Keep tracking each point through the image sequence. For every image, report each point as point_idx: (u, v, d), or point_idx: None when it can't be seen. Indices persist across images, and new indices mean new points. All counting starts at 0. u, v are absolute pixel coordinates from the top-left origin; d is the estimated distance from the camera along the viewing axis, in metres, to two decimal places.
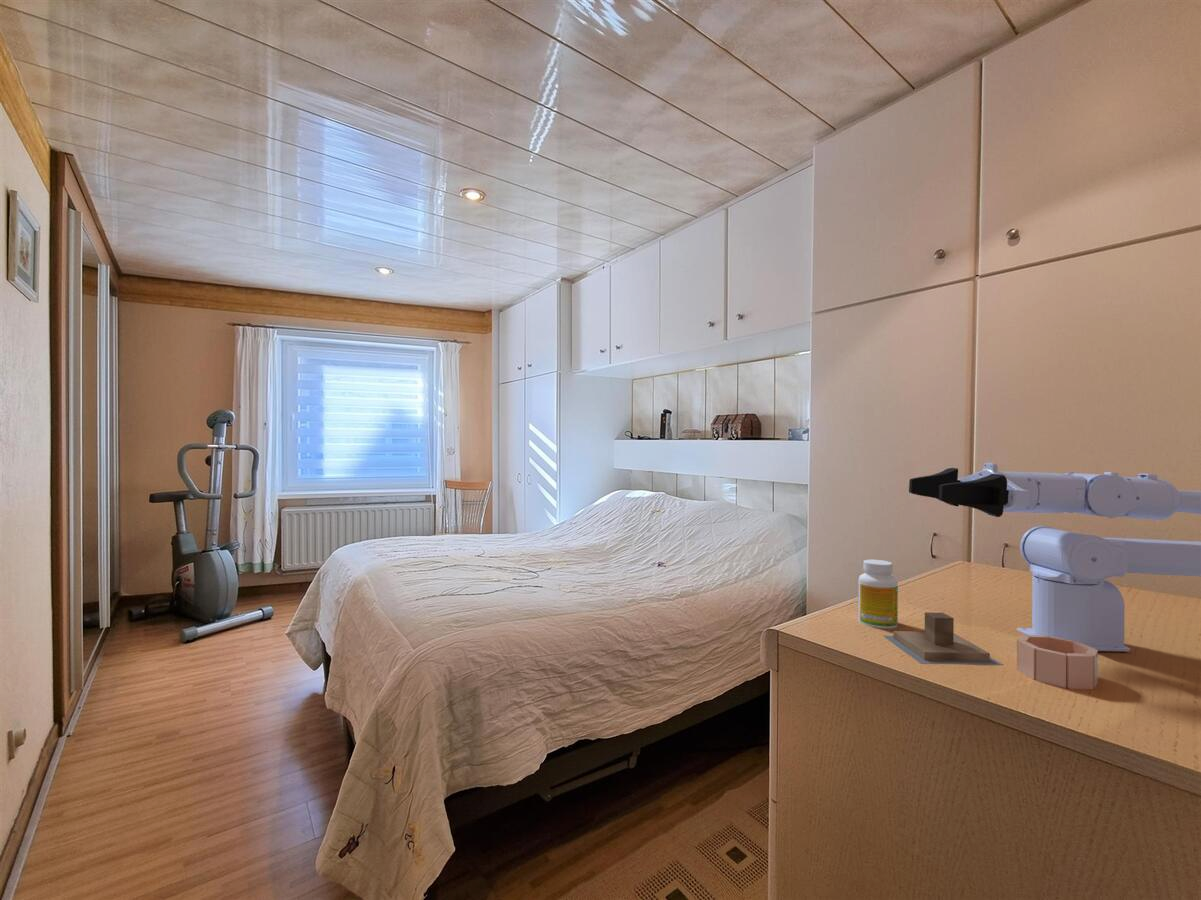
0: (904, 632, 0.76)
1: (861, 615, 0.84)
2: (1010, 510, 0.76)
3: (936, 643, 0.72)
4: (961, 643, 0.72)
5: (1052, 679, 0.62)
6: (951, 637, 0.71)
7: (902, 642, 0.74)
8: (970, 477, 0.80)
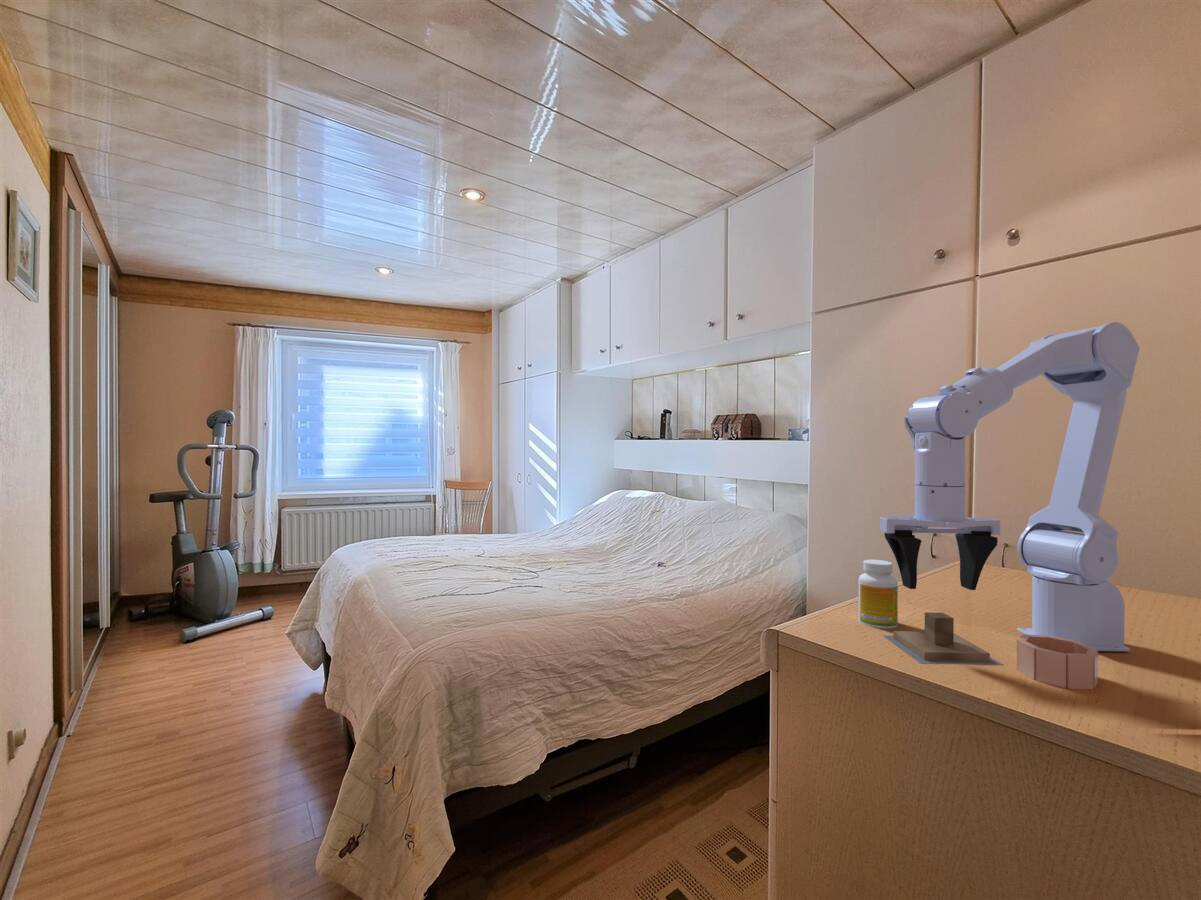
0: (904, 632, 0.76)
1: (861, 615, 0.84)
2: None
3: (936, 643, 0.72)
4: (961, 643, 0.72)
5: (1052, 679, 0.62)
6: (951, 637, 0.71)
7: (902, 642, 0.74)
8: (919, 525, 0.71)
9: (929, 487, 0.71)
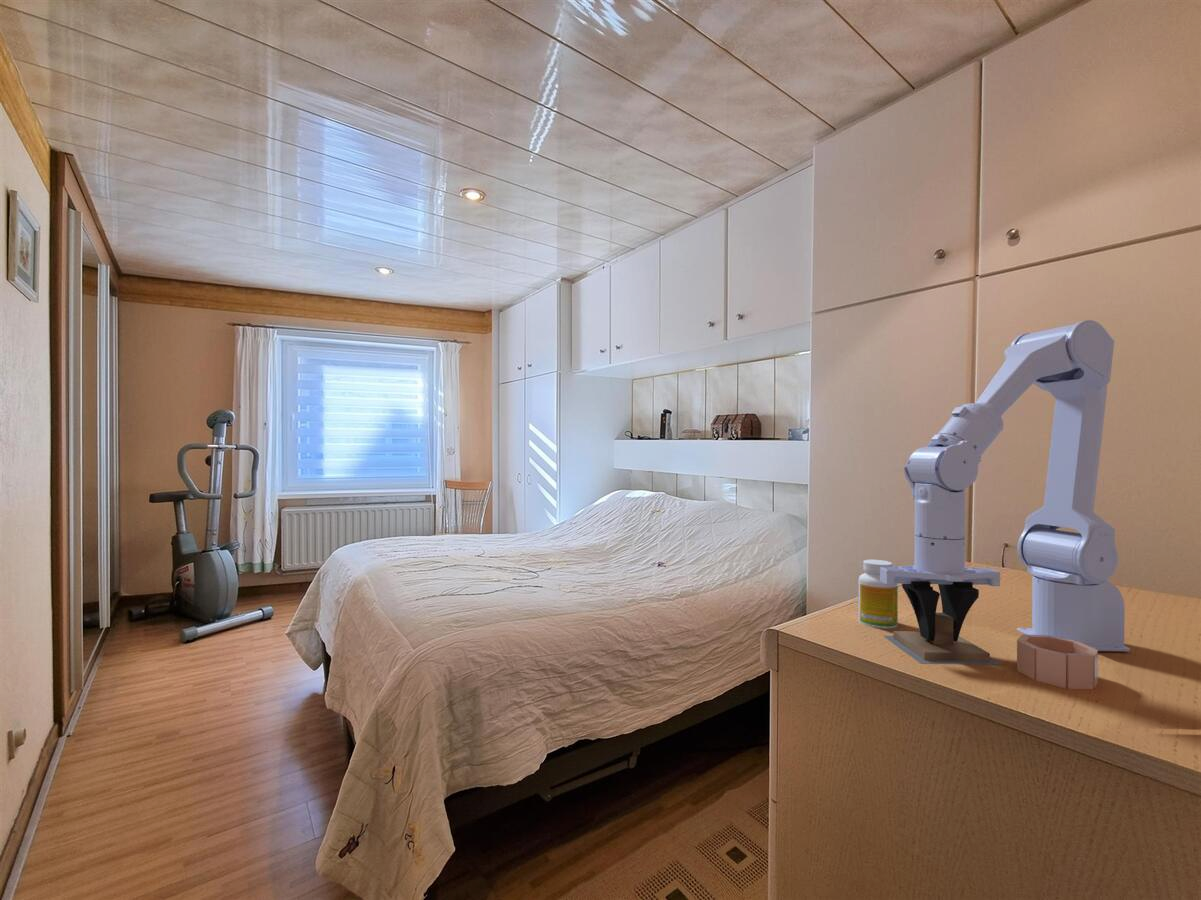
0: (904, 632, 0.76)
1: (861, 615, 0.84)
2: None
3: (936, 643, 0.72)
4: (961, 643, 0.72)
5: (1052, 679, 0.62)
6: (951, 637, 0.71)
7: (902, 642, 0.74)
8: (919, 577, 0.71)
9: (929, 539, 0.71)
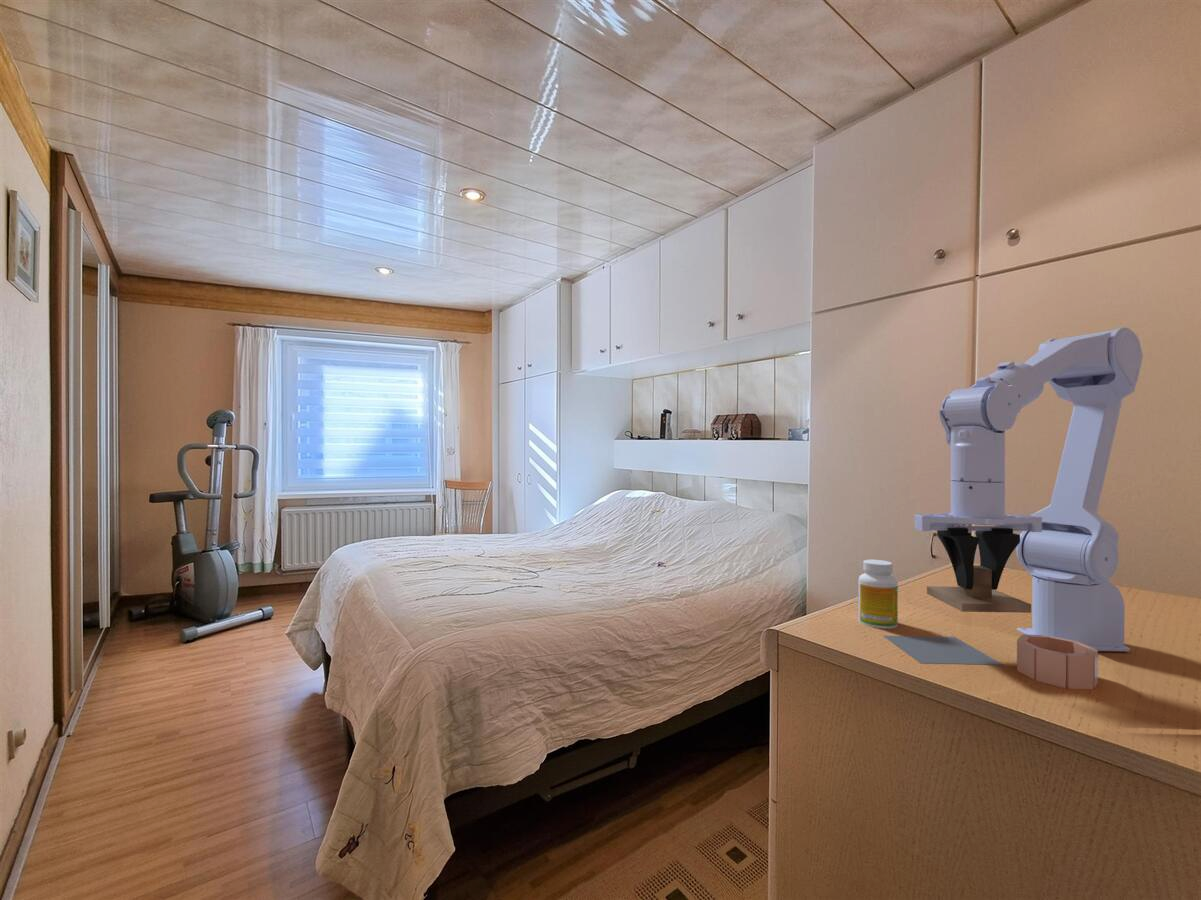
0: (938, 587, 0.74)
1: (861, 615, 0.84)
2: None
3: (973, 596, 0.69)
4: (999, 596, 0.69)
5: (1052, 679, 0.62)
6: (989, 589, 0.69)
7: (937, 596, 0.72)
8: (956, 523, 0.69)
9: (967, 483, 0.68)
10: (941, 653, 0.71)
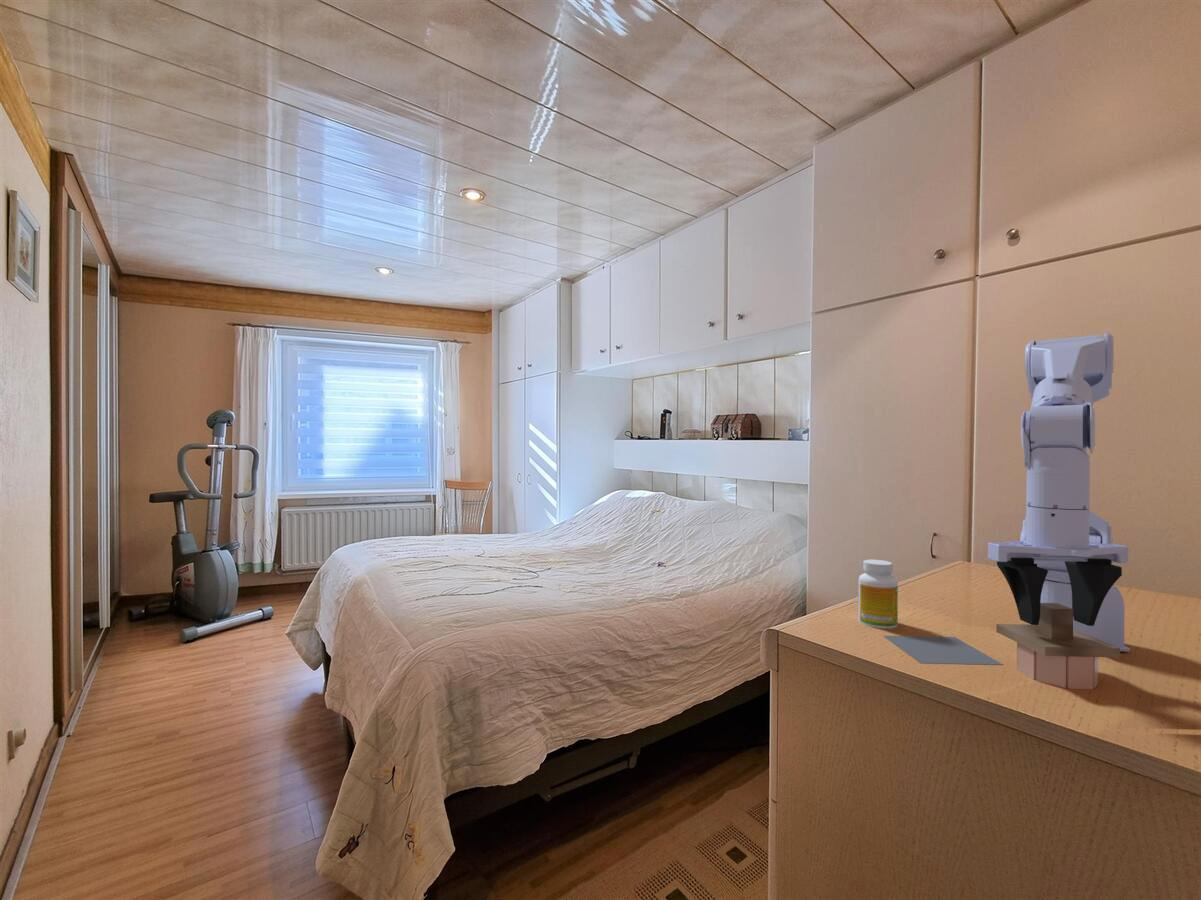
0: (1009, 625, 0.68)
1: (861, 615, 0.84)
2: None
3: (1053, 637, 0.64)
4: (1080, 637, 0.64)
5: (1052, 679, 0.62)
6: (1070, 630, 0.63)
7: (1010, 636, 0.66)
8: (1036, 553, 0.63)
9: (1048, 510, 0.63)
10: (941, 653, 0.71)
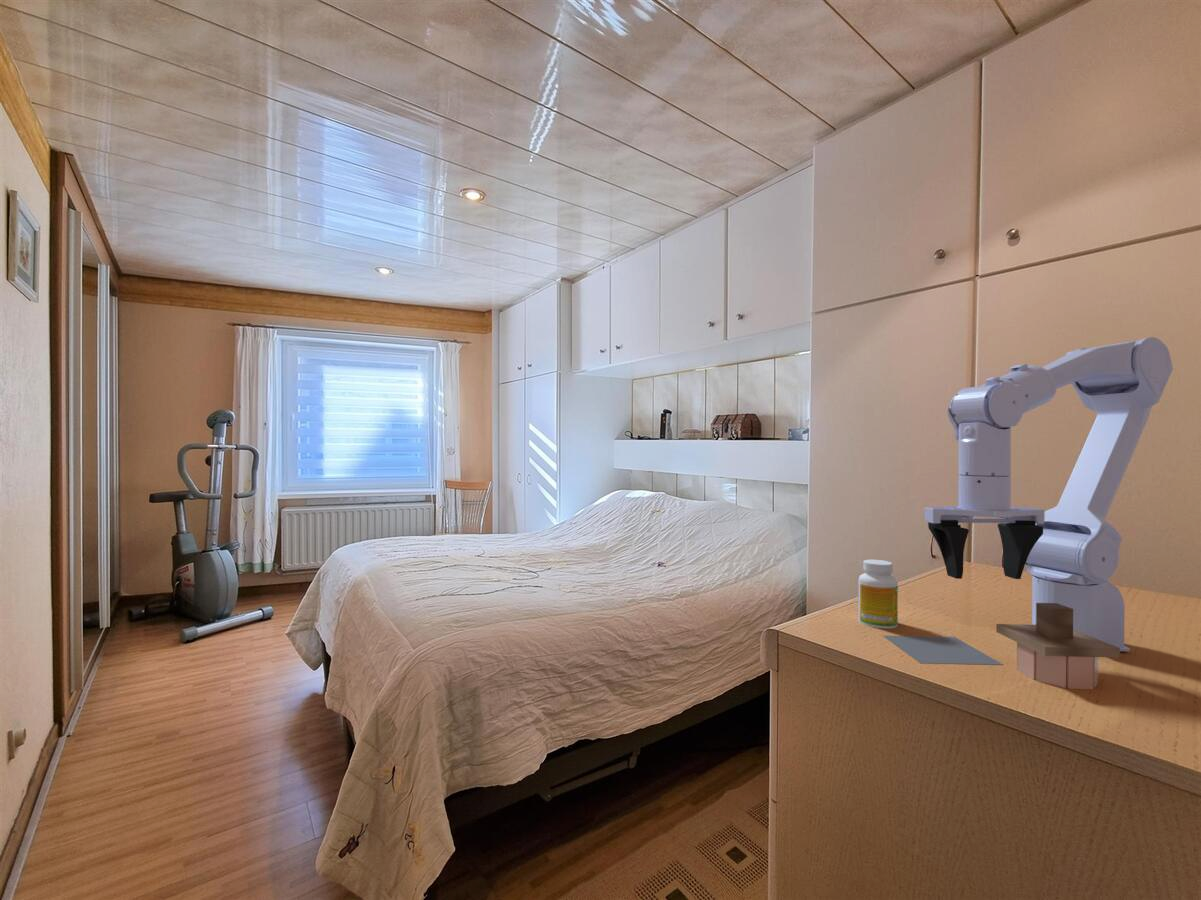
0: (1009, 625, 0.68)
1: (861, 615, 0.84)
2: None
3: (1053, 637, 0.64)
4: (1080, 637, 0.64)
5: (1052, 679, 0.62)
6: (1070, 630, 0.63)
7: (1010, 636, 0.66)
8: (965, 515, 0.72)
9: (975, 477, 0.71)
10: (941, 653, 0.71)
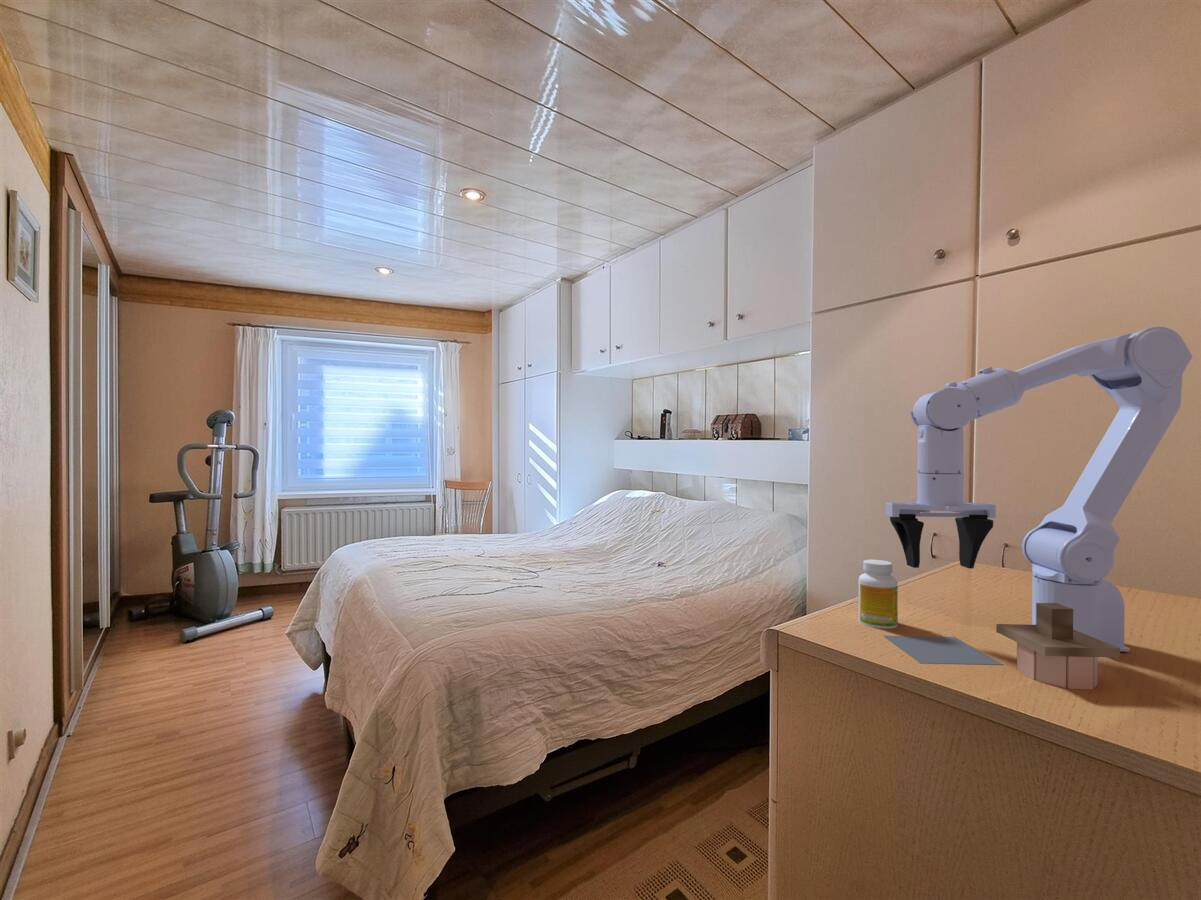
0: (1009, 625, 0.68)
1: (861, 615, 0.84)
2: None
3: (1053, 637, 0.64)
4: (1080, 637, 0.64)
5: (1052, 679, 0.62)
6: (1070, 630, 0.63)
7: (1010, 636, 0.66)
8: (922, 510, 0.78)
9: (931, 474, 0.78)
10: (941, 653, 0.71)
